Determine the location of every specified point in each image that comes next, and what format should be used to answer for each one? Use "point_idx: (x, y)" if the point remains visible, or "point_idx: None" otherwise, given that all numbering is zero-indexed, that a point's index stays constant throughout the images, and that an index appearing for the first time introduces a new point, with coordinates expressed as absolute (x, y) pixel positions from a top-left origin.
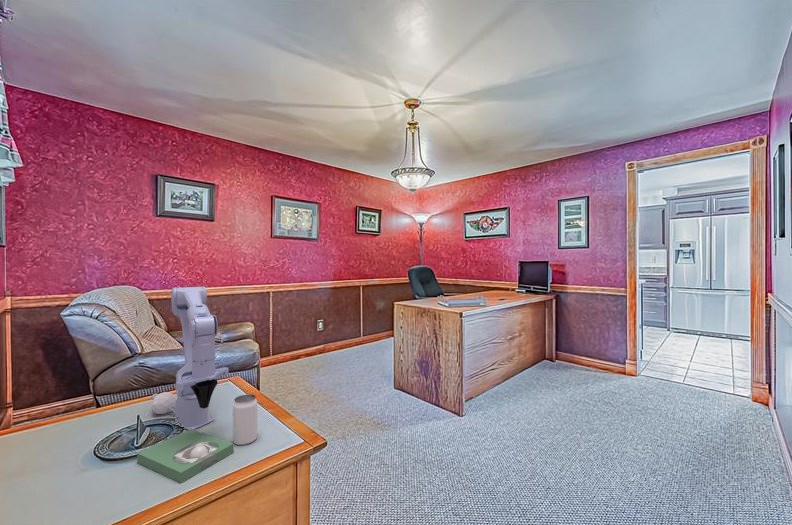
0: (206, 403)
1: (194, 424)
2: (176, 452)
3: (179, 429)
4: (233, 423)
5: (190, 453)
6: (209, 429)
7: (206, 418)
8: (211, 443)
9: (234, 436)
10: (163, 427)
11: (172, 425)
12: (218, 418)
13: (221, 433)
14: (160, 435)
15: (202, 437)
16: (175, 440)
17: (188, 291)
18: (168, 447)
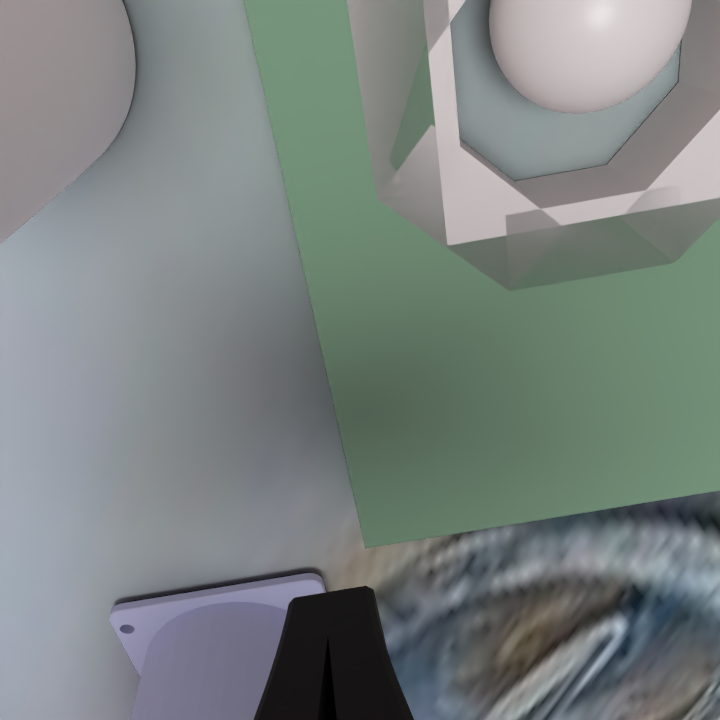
0: (340, 650)
1: (276, 620)
2: (688, 237)
3: None
4: (61, 106)
5: (663, 67)
6: (202, 508)
7: (173, 638)
8: (390, 116)
9: (113, 48)
10: None
11: None
12: (76, 614)
13: (152, 376)
14: (473, 644)
15: (381, 329)
16: (551, 455)
17: None
18: (657, 384)
